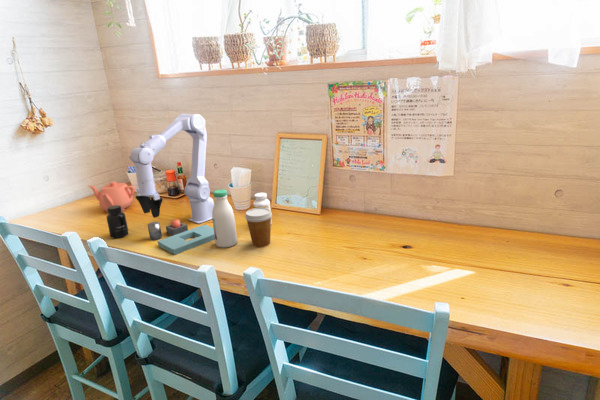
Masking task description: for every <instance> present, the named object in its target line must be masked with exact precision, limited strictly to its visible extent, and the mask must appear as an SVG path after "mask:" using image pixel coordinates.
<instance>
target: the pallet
mask: <svg viewBox="0 0 600 400" xmlns="http://www.w3.org/2000/svg"><path fill="white" fill-rule="evenodd" d="M193 237H194V238H193ZM188 239H189V240H188ZM214 240H215V234H214V227H212V226H210V225H207V224H202V225H199V226H196V227H193V228H191V229H188V231H185V232H182V233H179V234H176V235H173V236H171V235H170V236H168V237H165V238H161V239H159V240H157V244H158V247H160V248H161V249H164V251H167V252H169V253H170V254H172V255H175V256H177V255H179V254H181V253H184V252H187V251H188V250H192V249H193V248H196V247H199V246H202V245H204V244H207V243H210V242H212V241H214Z"/></svg>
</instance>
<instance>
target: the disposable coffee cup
mask: <svg viewBox="0 0 600 400" xmlns="http://www.w3.org/2000/svg"><path fill="white" fill-rule="evenodd" d="M272 216H273V213H272V210H271V211H270V209H268V208H254V207H253V208H251V209H249V210H247V211H246V212H245V215H244V218H245V220H246V223H247V227H248V231H249V235H250V238H251V243H252V246H254V247H256V248H257V247H258V248H262V247H266V246H269V245H270V244H271V230H272V228H271V227H272V224H271V218H272Z"/></svg>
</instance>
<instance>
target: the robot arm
mask: <svg viewBox="0 0 600 400" xmlns="http://www.w3.org/2000/svg"><path fill="white" fill-rule="evenodd" d="M206 123H207V122H206V119H205V118H204V117H203V116H202V115H201V114H199V113H196V114H193V113H181V114H179V115H178V116H176V117H175V118H174V120H173V121H172V122H171V123H170V124H169V125H168V126H167V127H166V128H165V129H164V130H162V132H161V133H159V134H150V136H149V135H148V136H149V138H148V139H147V140H146V141H145V142H143V143H140V145H139V147H138V146H137V147H134V148H133V149H132V150H131V152H130V156H129V159H130V160H131V162H132V163H133V166H134V169H135V175H136V181H137V187H138V188H136V196H135V199H136V200H137V202H138V203H139V206H141V207H140V208H141V209H142V211H143V213H144V214H147V213H148V214H150V213H151V215H152V217H153V218H158V217H160V214H161V213H160V212H161V206H162V203H163V198H162V197H160V193H158V191H157V190H156V184H155V179H154V173H153V168H152V167H153V166H152V162H153V160H154V159H155V158H154V157H155V155H157V154H158V153H159V152H160V151H162V150H163V149H164V148H166V142H167V141H168V140H170V139H171V138H173V137H175V135H177V134H178V133H180V132H181V131H184V132H186V133H187V134H189V136H190V137H192V147H191V148H192V149H191V169H190V170H191V171H190V177H188V178H187V180H186V185H185V186H184V189H183V190H184V194H185V197H187V198H188V200H189V205H190V211H191V217H190V218H188V220H189V221H191V222H193V223H196V224H197V225H199V224H202V223H204V222H208V221H210V220H213V219H212V211H213V207H214V203H215V200H214V199H213V198H212V197H211V196H210V195H211V190H210V186H209V185H210V184H209V181H208V180H207V179H206V177H205V175H206V174H205V173H206V172H205V171H206V161H207V160H206V157H207V143H208V142H207V140H208V134H207V133H208V132H207V129H206Z"/></svg>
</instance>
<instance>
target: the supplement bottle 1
mask: <svg viewBox="0 0 600 400" xmlns="http://www.w3.org/2000/svg"><path fill="white" fill-rule="evenodd" d="M107 209H108V213H107V215H106V223H107V226H108V232H109V236H110V237H111V239H122V238H125V237H127V236H128V235H129V227H128V222H127V218H126V214H125V212H121V211H122V209H121V206H119V205H115V206H110V207H108V208H107Z"/></svg>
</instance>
